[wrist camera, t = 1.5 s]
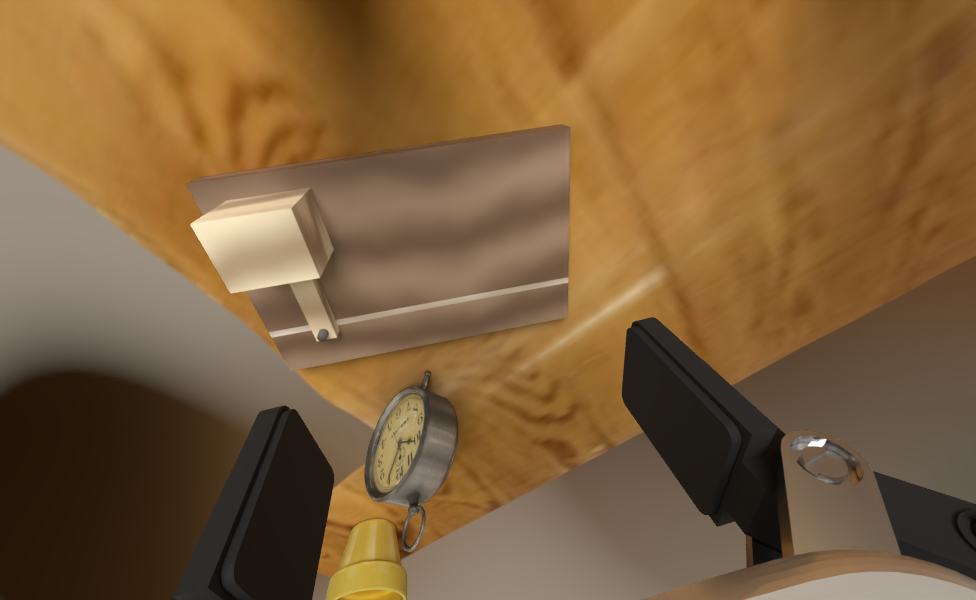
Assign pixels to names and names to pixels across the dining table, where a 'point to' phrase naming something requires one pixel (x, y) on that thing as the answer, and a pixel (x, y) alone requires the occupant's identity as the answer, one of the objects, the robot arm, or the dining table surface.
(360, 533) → the plant pot
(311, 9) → the dining table surface
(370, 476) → the alarm clock
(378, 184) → the wooden cutting board
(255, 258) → the cream square mallet
